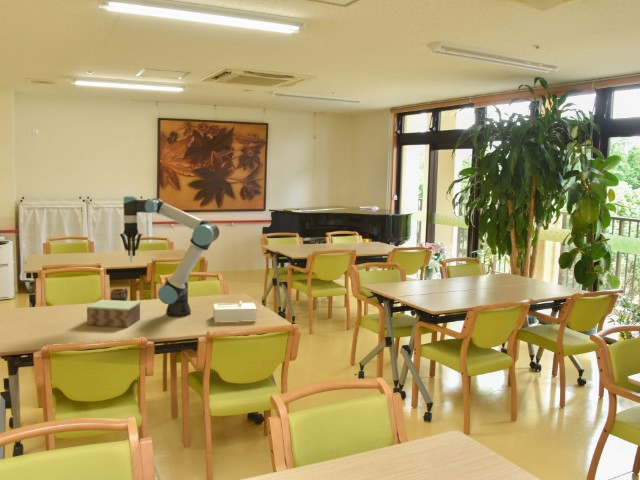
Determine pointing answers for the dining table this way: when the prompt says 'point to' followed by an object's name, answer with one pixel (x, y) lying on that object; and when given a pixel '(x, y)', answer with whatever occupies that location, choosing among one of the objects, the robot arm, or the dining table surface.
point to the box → (113, 317)
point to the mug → (119, 294)
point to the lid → (113, 305)
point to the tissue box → (234, 311)
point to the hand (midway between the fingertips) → (132, 261)
